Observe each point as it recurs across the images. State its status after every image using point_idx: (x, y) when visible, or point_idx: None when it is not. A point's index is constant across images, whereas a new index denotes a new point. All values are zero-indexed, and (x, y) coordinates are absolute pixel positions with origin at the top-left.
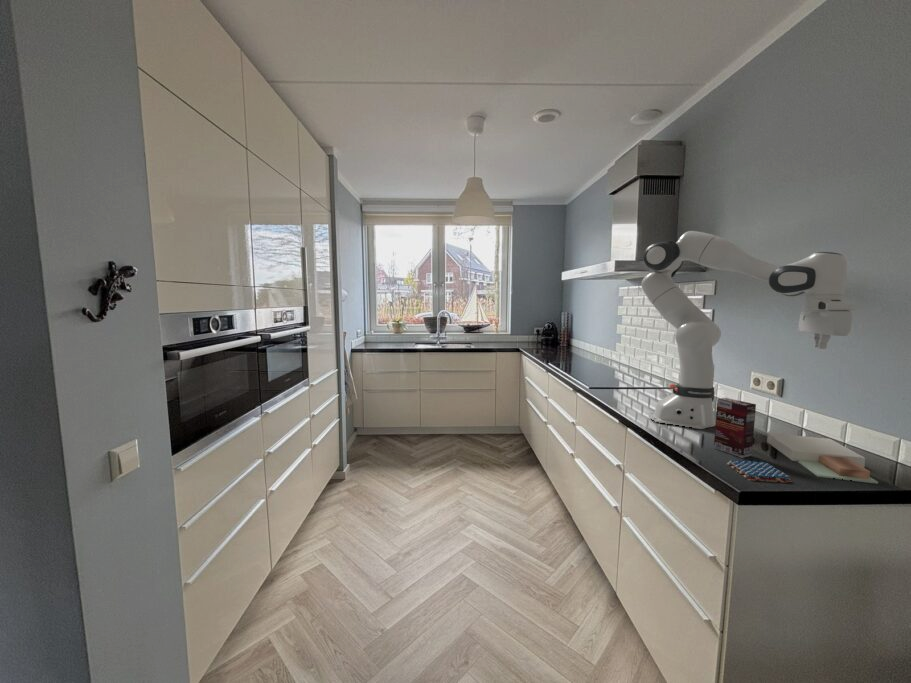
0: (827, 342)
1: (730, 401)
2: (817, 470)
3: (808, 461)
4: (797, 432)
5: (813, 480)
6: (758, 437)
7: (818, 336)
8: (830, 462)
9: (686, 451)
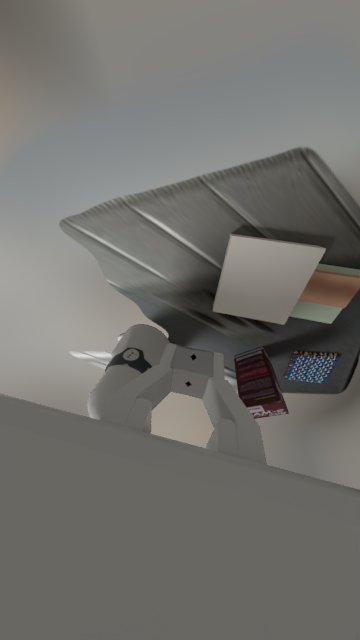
0: (231, 386)
1: (263, 415)
2: (319, 316)
3: None
4: (154, 230)
5: (337, 332)
6: (194, 304)
7: (150, 421)
8: (323, 304)
9: None
